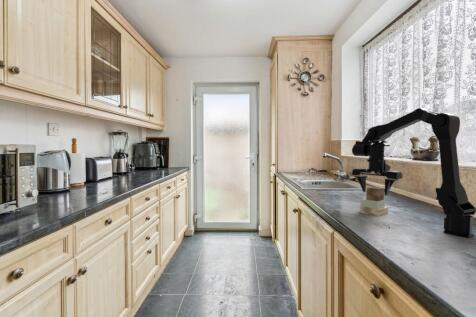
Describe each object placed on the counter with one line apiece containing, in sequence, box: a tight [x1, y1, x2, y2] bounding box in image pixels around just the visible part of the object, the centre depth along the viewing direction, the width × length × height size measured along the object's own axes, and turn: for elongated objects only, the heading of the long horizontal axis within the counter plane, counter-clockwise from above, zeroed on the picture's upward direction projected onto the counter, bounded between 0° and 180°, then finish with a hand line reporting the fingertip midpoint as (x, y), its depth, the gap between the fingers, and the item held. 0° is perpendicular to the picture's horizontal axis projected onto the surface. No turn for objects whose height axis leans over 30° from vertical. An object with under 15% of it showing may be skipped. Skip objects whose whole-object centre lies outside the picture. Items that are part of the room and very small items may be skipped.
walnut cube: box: [365, 186, 385, 201], centre depth 115 cm, size 5×5×5 cm
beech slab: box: [359, 205, 389, 217], centre depth 115 cm, size 8×8×3 cm
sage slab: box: [360, 197, 386, 209], centre depth 115 cm, size 7×7×3 cm
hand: (375, 193), depth 115 cm, fingers open, 9 cm apart
